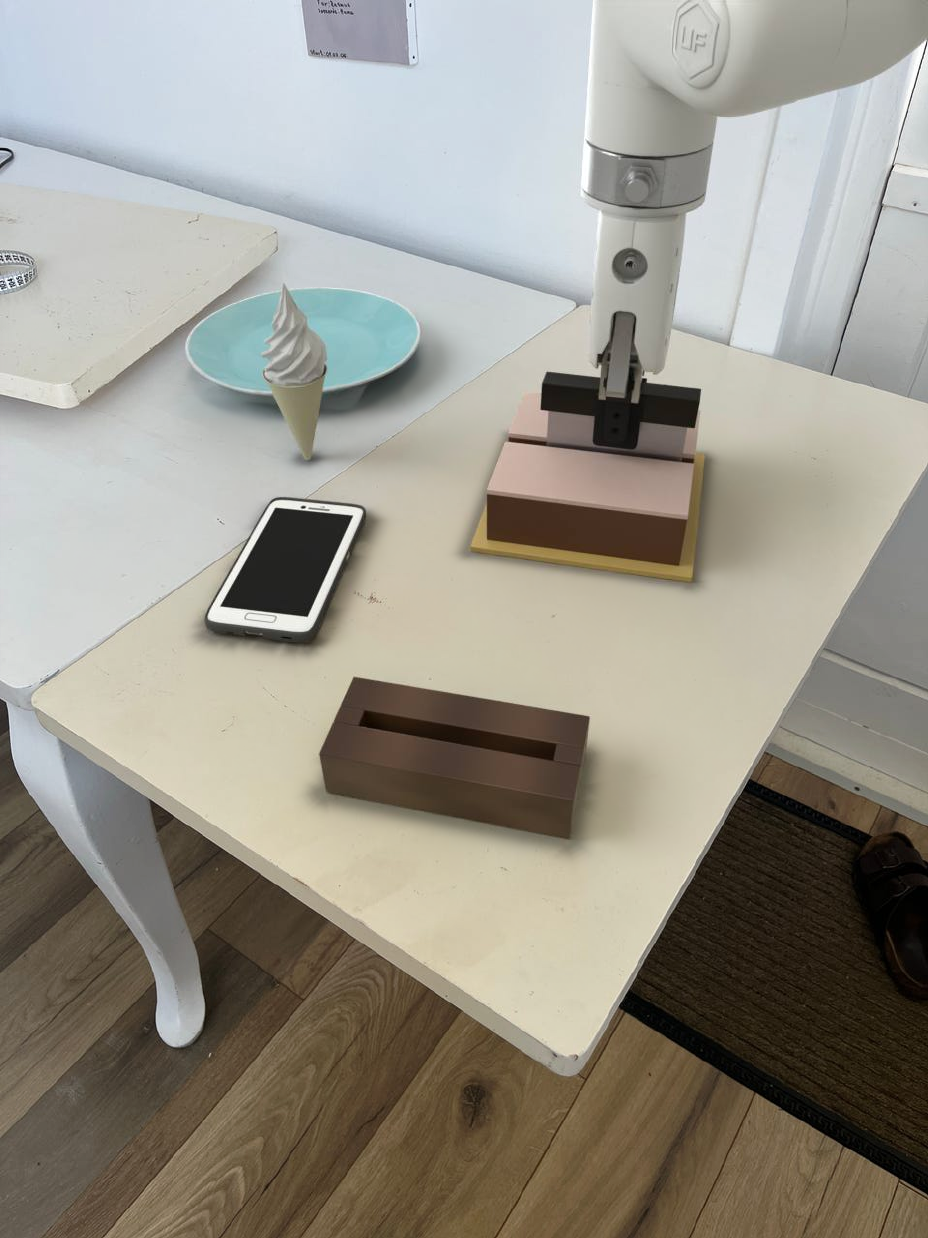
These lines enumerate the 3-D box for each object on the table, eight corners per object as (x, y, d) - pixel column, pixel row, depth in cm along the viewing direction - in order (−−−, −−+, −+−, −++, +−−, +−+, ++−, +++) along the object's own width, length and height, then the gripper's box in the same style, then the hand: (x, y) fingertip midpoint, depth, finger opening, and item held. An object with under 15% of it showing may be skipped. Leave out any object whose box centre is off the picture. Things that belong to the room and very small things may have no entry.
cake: (704, 458, 78) (714, 405, 75) (691, 582, 67) (702, 526, 64) (513, 436, 81) (514, 383, 78) (470, 551, 70) (469, 495, 66)
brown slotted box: (585, 755, 56) (590, 715, 53) (569, 840, 52) (573, 801, 49) (358, 715, 58) (353, 675, 56) (325, 792, 54) (318, 753, 52)
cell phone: (201, 633, 64) (198, 622, 63) (274, 504, 74) (272, 494, 74) (312, 646, 63) (310, 636, 62) (370, 514, 73) (369, 504, 72)
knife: (680, 501, 73) (701, 388, 67) (678, 515, 72) (699, 401, 65) (539, 482, 75) (546, 370, 68) (535, 495, 74) (541, 382, 67)
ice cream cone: (349, 462, 79) (329, 286, 68) (294, 483, 77) (265, 304, 66) (320, 436, 82) (297, 263, 72) (267, 455, 80) (235, 280, 69)
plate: (251, 300, 102) (246, 274, 100) (450, 322, 97) (449, 295, 95) (146, 404, 86) (139, 375, 84) (378, 436, 82) (375, 407, 80)
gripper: (701, 223, 51) (659, 505, 63) (714, 134, 62) (676, 388, 75) (562, 213, 52) (547, 491, 65) (599, 128, 63) (581, 378, 76)
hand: (617, 434), depth 70 cm, fingers closed on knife, 2 cm apart
